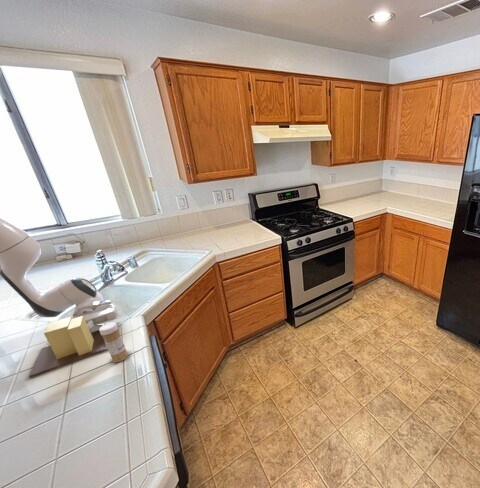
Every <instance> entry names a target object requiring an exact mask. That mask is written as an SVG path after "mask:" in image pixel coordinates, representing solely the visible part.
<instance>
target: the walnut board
mask: <svg viewBox="0 0 480 488" xmlns="http://www.w3.org/2000/svg"><path fill="white" fill-rule="evenodd" d="M90 332H91V335H92V337H93V339H94V342H93V347H92V351H91V352H88V353H86V354H83V355H80V356H79V354H78V352H77V353H74V354H71V355H68V356H65V357H62V358H59V359H57V358H56V356H55V354H54V352H53V350H52V348H51V346H50V345H48V346H44V347H42V348H41V349H40V352H39V353H38V356H37V358H36V360H35V362H34V364H33V366H32V369H31V371H30V373H29V375H28V377H29V379H32V378H34V377H36V376H40V375H42V374H46V373H48V372H50V371H53V370H57V369H60V368H61V367H64V366H68V365H70V364H73V363H77V362H78V361H82V360H85V359H88V358H90V357H92V356H96V355H99V354H101V353H104V352H107V351H108V349H107V346H106V344H105V342H104V339H103V336H102V335H101V334H100V331H99V329H97V330H94V331H90Z"/></svg>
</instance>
